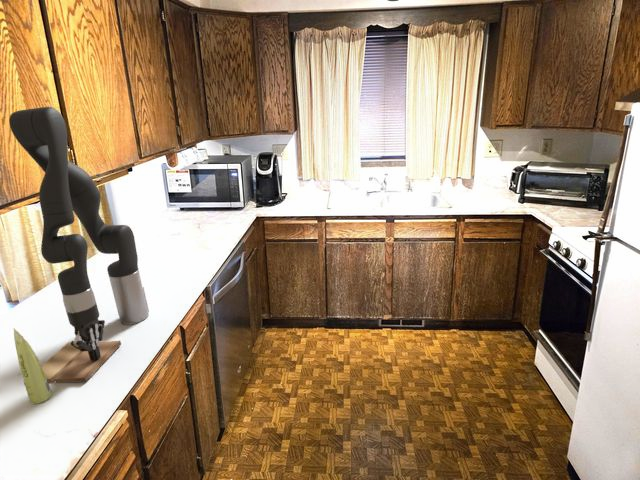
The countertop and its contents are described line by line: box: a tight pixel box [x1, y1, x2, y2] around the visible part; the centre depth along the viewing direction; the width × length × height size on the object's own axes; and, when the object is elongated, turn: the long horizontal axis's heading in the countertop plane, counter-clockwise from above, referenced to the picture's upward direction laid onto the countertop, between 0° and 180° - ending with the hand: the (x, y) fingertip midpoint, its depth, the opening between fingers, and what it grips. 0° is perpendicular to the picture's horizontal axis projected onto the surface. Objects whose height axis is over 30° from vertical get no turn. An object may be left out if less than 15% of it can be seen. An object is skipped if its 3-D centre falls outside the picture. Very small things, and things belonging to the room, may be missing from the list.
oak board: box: [41, 341, 84, 384], centre depth 129 cm, size 18×8×1 cm, turn 174°
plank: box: [54, 340, 122, 384], centre depth 128 cm, size 18×9×1 cm, turn 174°
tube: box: [13, 327, 53, 404], centre depth 111 cm, size 6×5×20 cm
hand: (96, 359), depth 127 cm, fingers closed
